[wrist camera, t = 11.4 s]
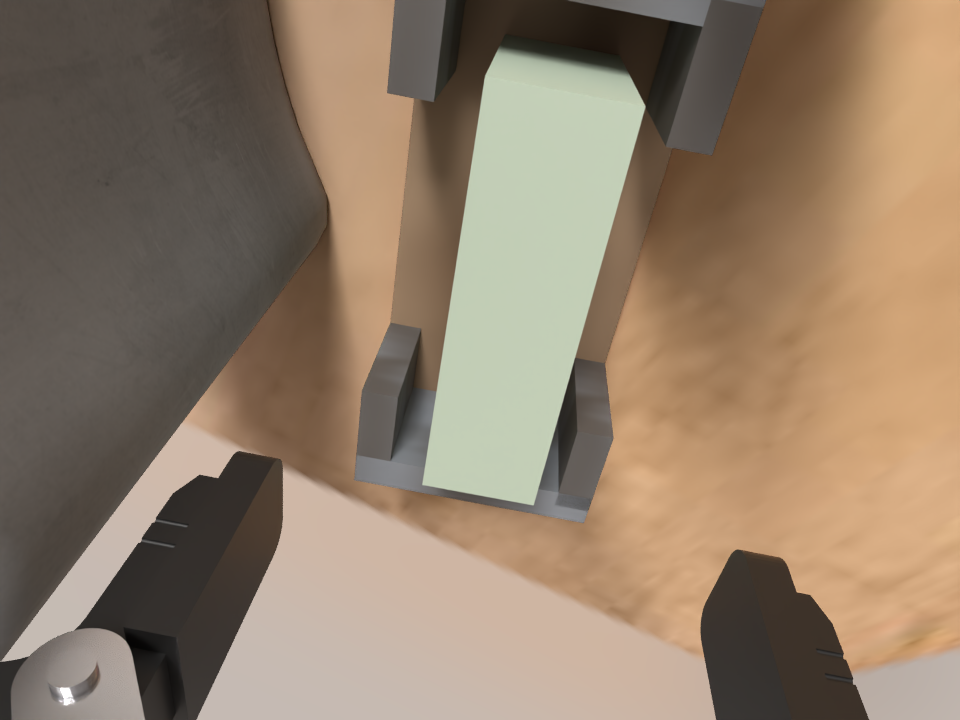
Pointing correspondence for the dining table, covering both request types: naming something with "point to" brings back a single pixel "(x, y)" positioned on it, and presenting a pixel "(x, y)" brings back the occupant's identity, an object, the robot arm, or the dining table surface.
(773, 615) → the robot arm
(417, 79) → the cradle
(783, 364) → the dining table surface
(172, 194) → the flask
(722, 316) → the dining table surface
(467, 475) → the slat
